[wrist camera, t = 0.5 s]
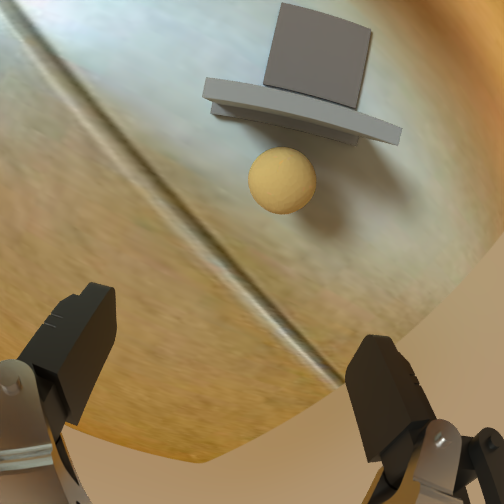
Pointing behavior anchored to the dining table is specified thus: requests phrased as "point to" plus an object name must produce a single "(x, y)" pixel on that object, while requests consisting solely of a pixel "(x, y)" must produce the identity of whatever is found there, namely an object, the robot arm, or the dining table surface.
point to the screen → (296, 112)
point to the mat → (317, 55)
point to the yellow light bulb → (282, 180)
